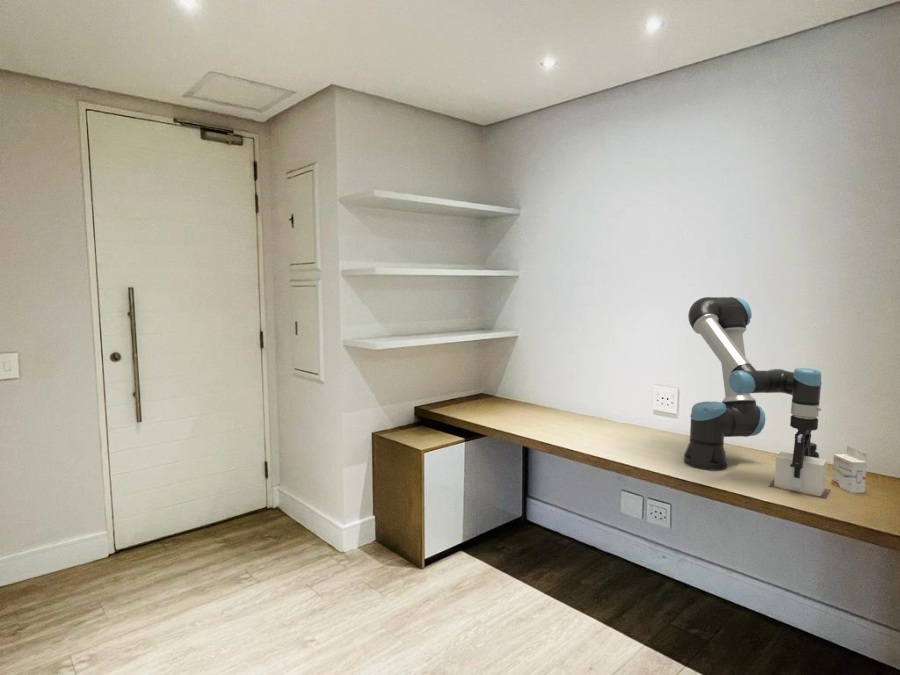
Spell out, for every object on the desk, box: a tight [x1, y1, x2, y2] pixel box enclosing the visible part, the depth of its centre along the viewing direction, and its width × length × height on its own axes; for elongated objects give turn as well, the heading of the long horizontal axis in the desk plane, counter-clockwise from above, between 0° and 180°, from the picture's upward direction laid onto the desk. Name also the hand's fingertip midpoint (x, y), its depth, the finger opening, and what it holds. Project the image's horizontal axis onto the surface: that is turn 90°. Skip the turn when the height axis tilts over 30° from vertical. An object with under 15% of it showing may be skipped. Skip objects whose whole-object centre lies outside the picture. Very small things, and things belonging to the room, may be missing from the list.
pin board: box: [767, 478, 831, 500], centre depth 181 cm, size 16×11×6 cm
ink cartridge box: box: [831, 445, 868, 494], centre depth 181 cm, size 9×5×15 cm, turn 5°
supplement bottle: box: [810, 441, 820, 459], centre depth 196 cm, size 7×7×12 cm
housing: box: [773, 451, 828, 496], centre depth 180 cm, size 13×8×10 cm, turn 49°
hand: (799, 482), depth 181 cm, fingers open, 10 cm apart
